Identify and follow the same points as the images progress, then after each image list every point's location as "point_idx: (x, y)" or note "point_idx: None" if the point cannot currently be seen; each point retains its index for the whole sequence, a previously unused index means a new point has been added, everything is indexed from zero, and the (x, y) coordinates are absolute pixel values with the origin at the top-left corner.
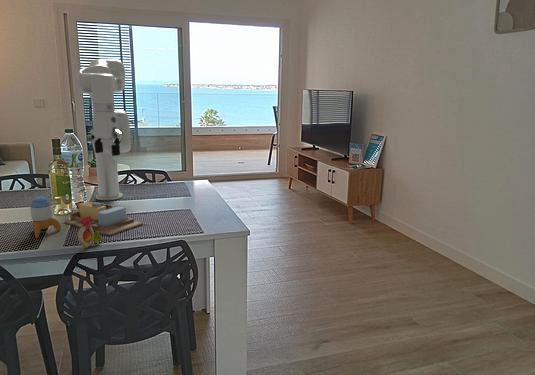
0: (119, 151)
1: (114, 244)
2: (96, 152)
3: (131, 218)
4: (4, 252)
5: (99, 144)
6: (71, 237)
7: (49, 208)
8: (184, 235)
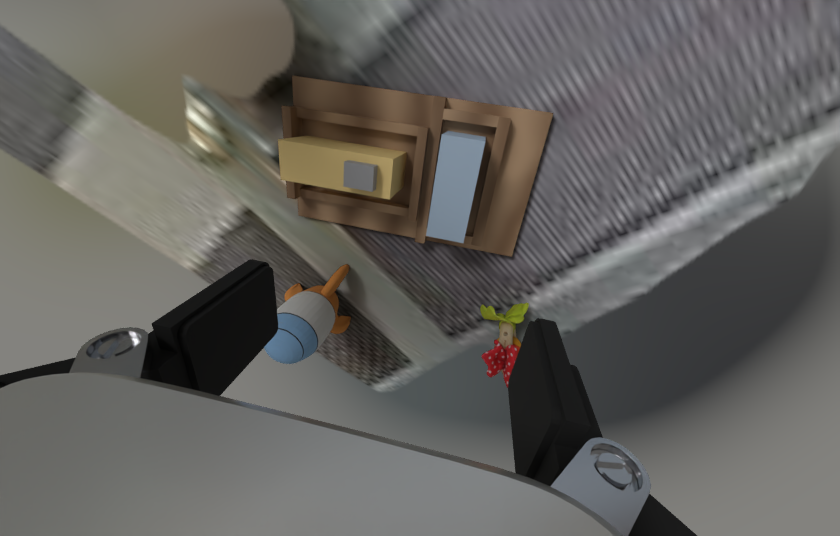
0: (559, 345)
1: (565, 297)
2: (272, 331)
3: (498, 118)
4: (372, 388)
5: (214, 355)
6: (419, 293)
7: (320, 325)
8: (791, 149)
